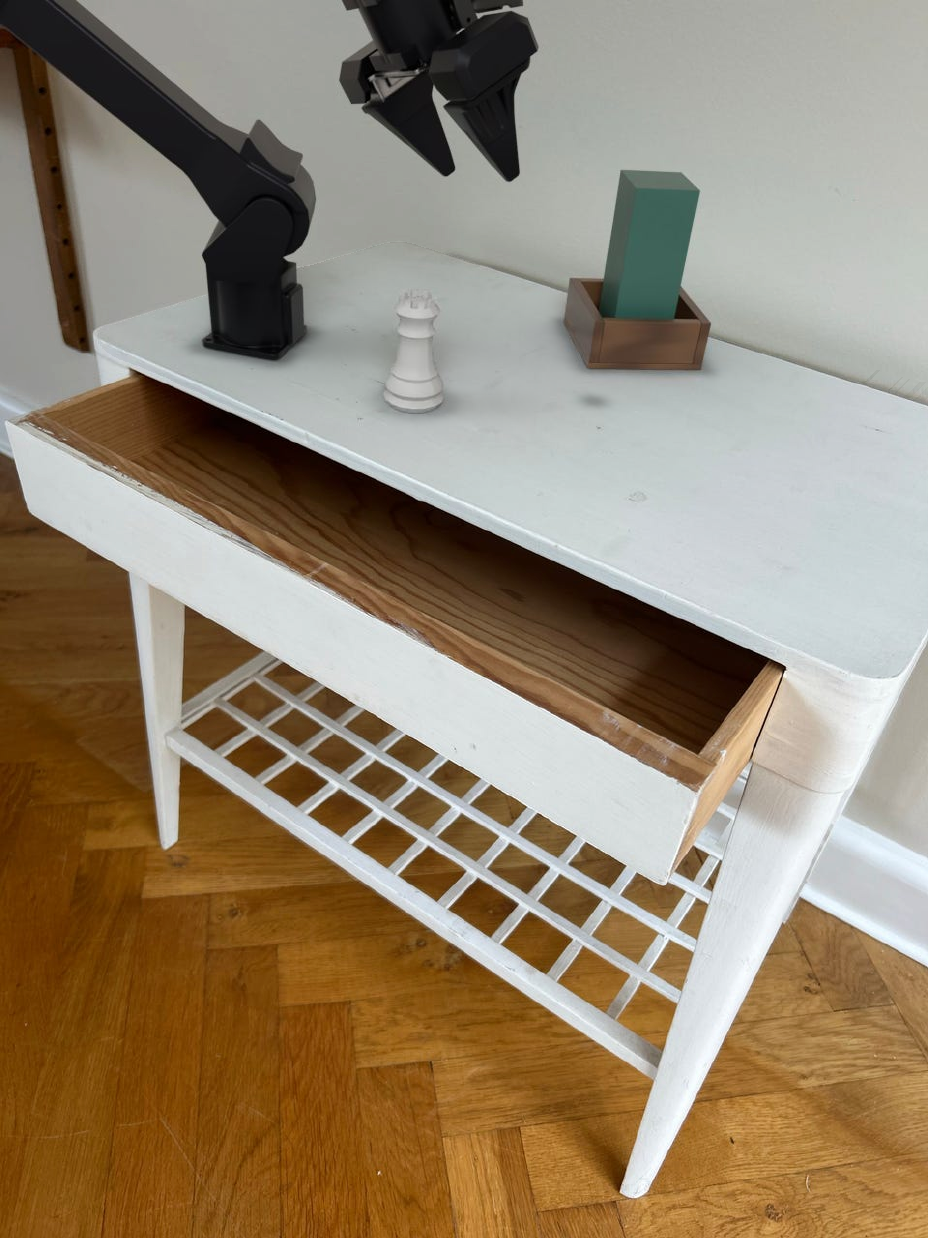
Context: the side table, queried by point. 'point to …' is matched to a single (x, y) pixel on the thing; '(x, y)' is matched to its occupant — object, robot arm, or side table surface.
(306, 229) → the robot arm
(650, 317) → the box
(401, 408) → the rook chess piece
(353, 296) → the side table surface
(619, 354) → the walnut holder
